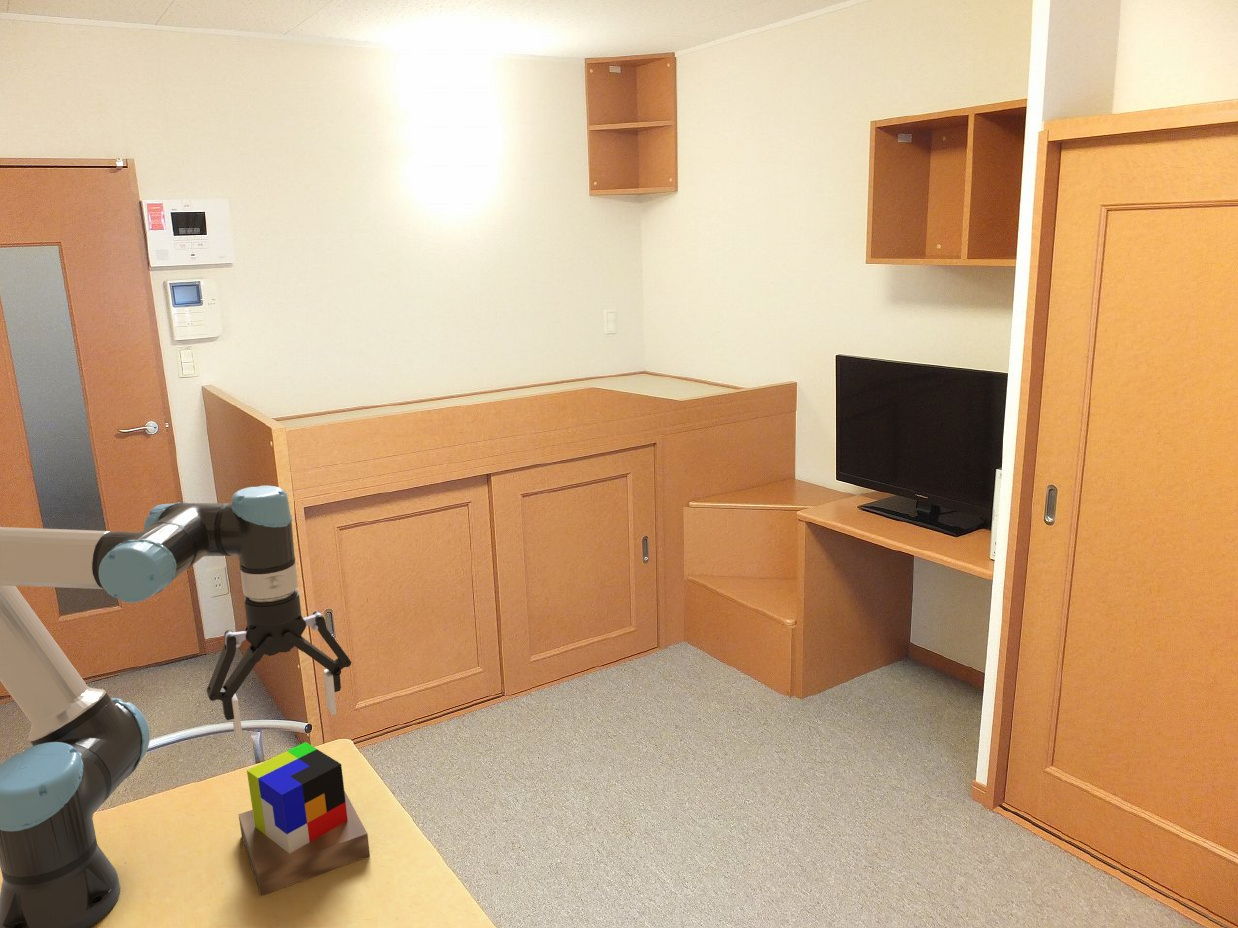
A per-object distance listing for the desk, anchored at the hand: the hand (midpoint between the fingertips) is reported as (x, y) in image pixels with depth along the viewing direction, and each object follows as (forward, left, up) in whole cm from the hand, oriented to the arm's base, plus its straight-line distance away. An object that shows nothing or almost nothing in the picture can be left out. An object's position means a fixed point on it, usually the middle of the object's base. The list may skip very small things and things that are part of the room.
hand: (286, 723), depth 140 cm
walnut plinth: (0, 0, -22) cm, 22 cm away
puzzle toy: (0, 0, -18) cm, 18 cm away
